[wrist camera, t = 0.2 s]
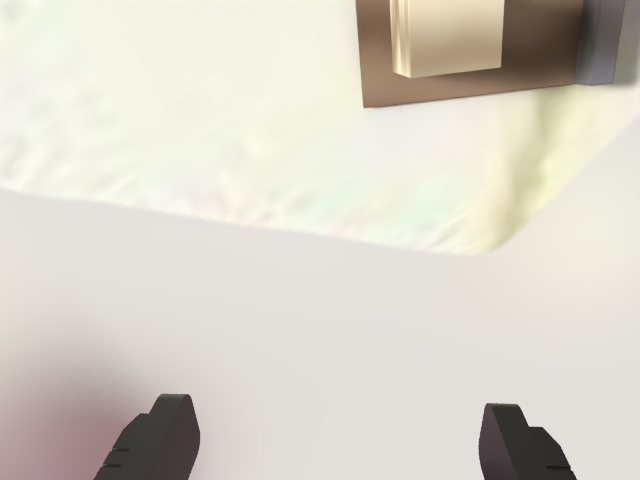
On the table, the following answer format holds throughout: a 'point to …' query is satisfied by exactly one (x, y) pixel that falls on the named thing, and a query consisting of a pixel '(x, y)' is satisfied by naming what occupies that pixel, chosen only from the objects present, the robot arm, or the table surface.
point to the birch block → (445, 36)
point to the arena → (517, 51)
